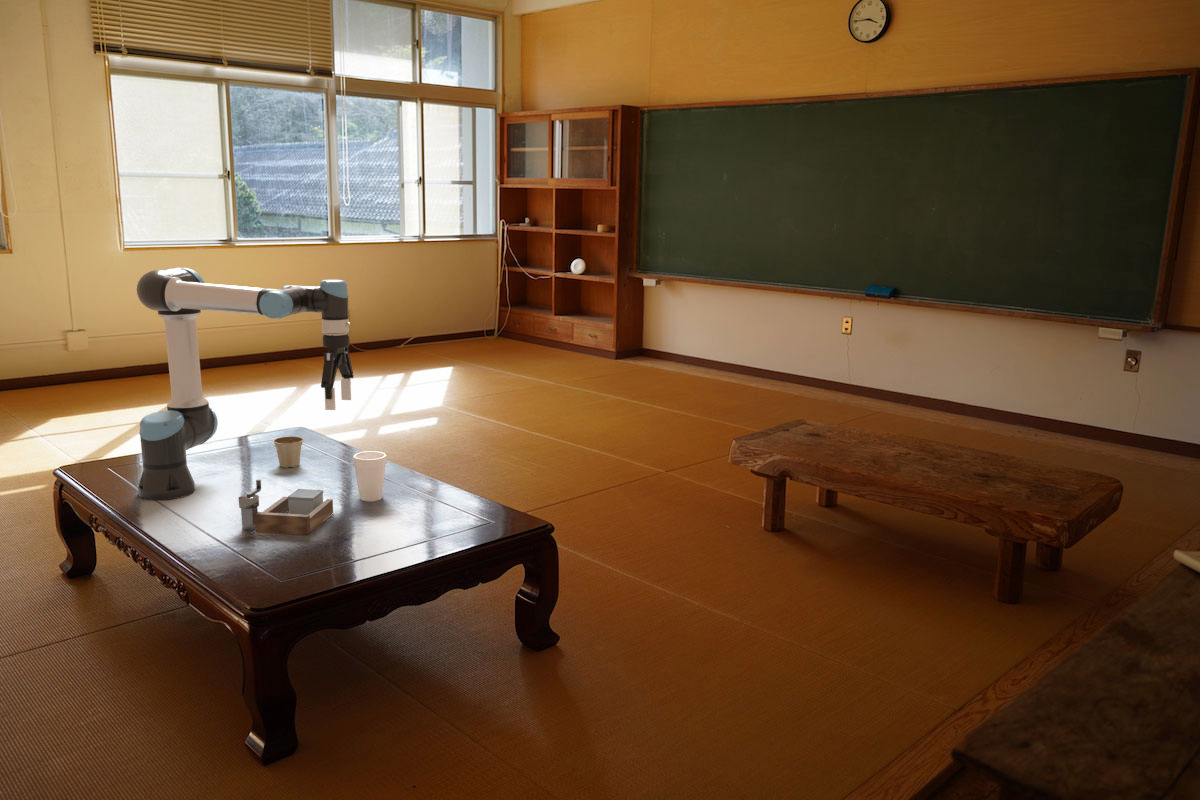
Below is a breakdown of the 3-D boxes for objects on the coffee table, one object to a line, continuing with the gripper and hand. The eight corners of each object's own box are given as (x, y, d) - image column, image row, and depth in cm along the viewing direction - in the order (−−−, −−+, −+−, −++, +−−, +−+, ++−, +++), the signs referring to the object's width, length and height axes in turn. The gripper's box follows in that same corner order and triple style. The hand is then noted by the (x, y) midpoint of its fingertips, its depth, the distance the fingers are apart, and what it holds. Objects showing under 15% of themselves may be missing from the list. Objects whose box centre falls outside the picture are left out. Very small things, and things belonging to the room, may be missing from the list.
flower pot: (299, 469, 297) (298, 443, 295) (270, 469, 297) (268, 443, 295) (308, 461, 306) (307, 436, 304) (280, 461, 306) (279, 435, 304)
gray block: (288, 517, 254) (287, 496, 252) (299, 508, 261) (298, 488, 259) (313, 518, 253) (313, 498, 252) (323, 510, 260) (323, 490, 259)
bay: (255, 532, 242) (254, 513, 241) (284, 510, 259) (283, 493, 258) (307, 535, 241) (307, 516, 239) (333, 512, 258) (332, 495, 257)
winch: (236, 530, 243) (234, 489, 240) (252, 518, 252) (250, 479, 249) (255, 531, 242) (252, 490, 240) (270, 519, 251) (268, 480, 249)
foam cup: (393, 496, 273) (392, 453, 271) (374, 505, 265) (372, 461, 262) (368, 491, 277) (366, 449, 275) (347, 499, 269) (346, 457, 266)
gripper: (333, 340, 255) (336, 414, 260) (362, 328, 280) (364, 396, 284) (307, 339, 256) (310, 413, 260) (338, 327, 280) (340, 395, 285)
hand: (338, 404), depth 272 cm, fingers open, 13 cm apart
